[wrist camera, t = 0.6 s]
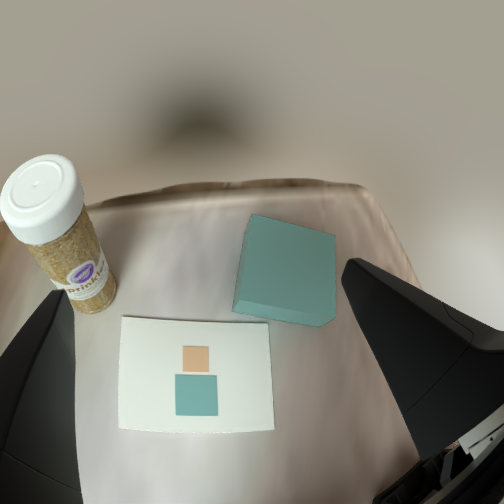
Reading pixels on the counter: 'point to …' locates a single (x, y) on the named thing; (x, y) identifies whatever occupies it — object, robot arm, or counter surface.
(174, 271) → the counter surface
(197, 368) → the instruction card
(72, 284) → the sprinkles bottle
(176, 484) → the counter surface
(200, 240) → the counter surface
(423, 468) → the end cap
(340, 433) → the counter surface
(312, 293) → the brick
